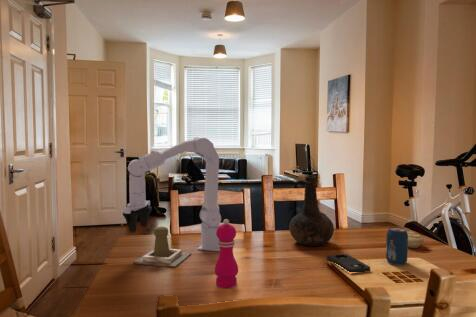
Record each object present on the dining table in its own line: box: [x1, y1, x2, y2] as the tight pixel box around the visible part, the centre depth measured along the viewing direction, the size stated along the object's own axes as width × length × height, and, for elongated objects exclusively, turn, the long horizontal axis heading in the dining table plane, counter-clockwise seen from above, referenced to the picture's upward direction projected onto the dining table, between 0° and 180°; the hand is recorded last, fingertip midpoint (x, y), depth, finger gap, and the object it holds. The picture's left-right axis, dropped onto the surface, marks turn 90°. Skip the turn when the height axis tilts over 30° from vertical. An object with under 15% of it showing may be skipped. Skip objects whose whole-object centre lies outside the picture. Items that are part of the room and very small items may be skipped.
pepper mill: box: [214, 218, 239, 289], centre depth 113 cm, size 7×7×20 cm
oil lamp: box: [406, 230, 425, 249], centre depth 153 cm, size 11×14×5 cm
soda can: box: [385, 226, 409, 266], centre depth 131 cm, size 7×7×12 cm
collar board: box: [133, 248, 192, 269], centre depth 136 cm, size 16×14×2 cm
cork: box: [153, 226, 170, 258], centre depth 136 cm, size 6×6×11 cm
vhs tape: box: [326, 253, 371, 273], centre depth 129 cm, size 14×8×2 cm, turn 17°
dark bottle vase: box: [288, 175, 335, 247], centre depth 154 cm, size 18×18×28 cm
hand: (138, 228), depth 138 cm, fingers open, 7 cm apart
